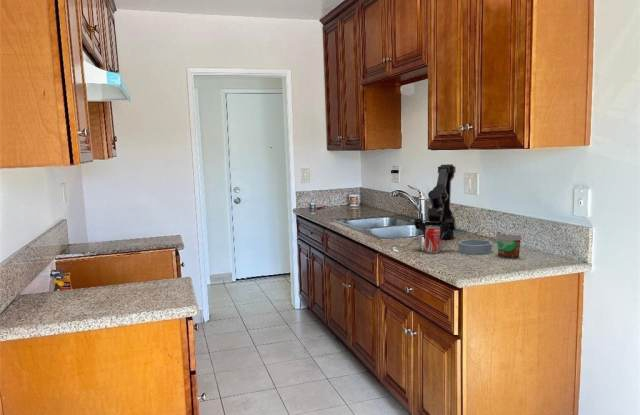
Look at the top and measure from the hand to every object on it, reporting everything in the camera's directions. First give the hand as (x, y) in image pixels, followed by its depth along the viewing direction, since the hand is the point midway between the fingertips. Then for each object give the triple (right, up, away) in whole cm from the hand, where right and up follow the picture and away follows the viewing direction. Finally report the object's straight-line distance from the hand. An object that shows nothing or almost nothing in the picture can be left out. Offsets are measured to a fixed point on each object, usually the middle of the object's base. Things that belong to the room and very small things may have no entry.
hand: (432, 238), depth 227 cm
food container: (+29, -7, -13) cm, 32 cm away
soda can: (+1, -7, +2) cm, 7 cm away
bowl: (+20, -6, 0) cm, 21 cm away
